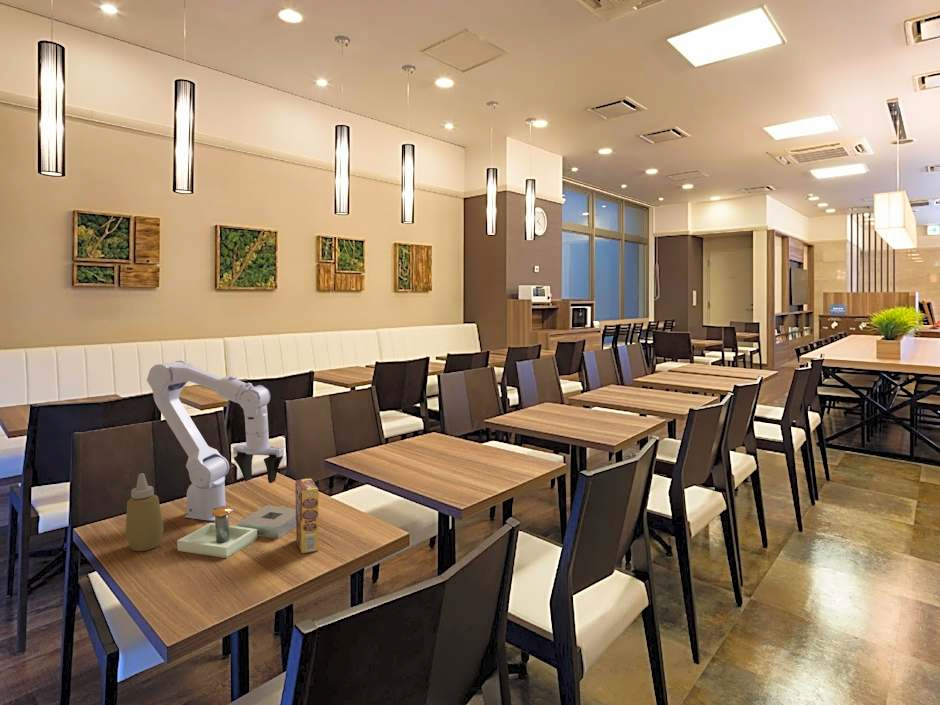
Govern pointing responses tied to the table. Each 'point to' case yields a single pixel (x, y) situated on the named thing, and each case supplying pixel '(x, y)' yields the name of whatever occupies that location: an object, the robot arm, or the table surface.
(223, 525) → the copper-topped gray cylinder
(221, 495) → the robot arm
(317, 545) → the candy box
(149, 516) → the squeeze bottle
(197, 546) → the tray
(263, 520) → the block
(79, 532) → the table surface
